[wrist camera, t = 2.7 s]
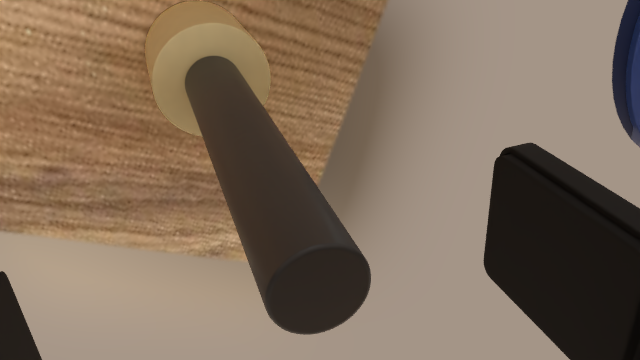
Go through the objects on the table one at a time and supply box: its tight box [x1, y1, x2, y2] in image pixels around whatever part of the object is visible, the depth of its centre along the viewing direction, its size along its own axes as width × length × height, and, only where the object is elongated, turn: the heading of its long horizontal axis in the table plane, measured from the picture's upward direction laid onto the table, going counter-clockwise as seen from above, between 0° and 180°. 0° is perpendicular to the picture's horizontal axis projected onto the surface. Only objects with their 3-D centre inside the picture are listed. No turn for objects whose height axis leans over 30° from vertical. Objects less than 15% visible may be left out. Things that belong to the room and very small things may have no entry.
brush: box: [145, 0, 371, 334], centre depth 17 cm, size 4×4×16 cm
